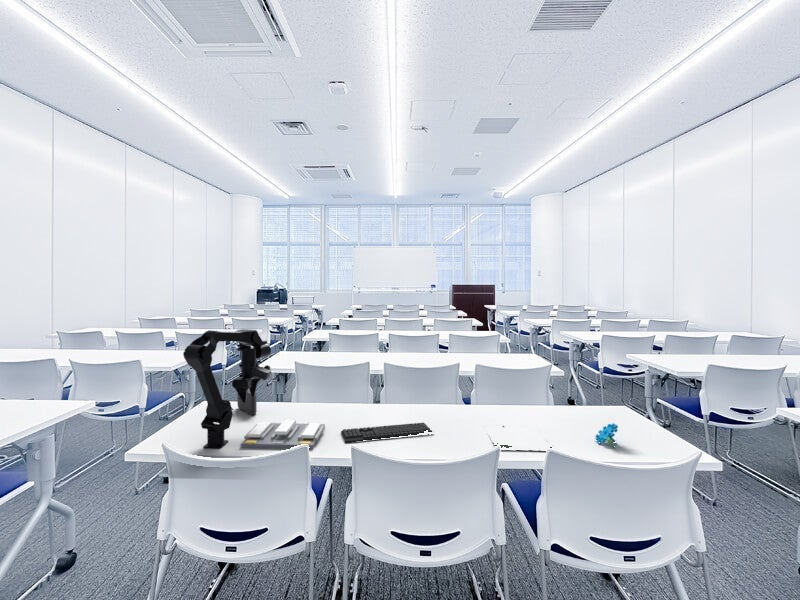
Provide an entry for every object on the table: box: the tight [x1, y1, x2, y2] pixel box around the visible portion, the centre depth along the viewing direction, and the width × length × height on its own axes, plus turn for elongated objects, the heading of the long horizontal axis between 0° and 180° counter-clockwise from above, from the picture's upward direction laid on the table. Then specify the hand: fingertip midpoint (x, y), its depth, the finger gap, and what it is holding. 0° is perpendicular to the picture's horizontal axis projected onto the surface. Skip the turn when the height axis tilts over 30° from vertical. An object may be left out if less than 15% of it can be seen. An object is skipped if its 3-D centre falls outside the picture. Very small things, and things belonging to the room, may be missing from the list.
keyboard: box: [340, 422, 433, 444], centre depth 166 cm, size 35×11×2 cm, turn 106°
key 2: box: [302, 422, 322, 438], centre depth 161 cm, size 13×4×1 cm, turn 179°
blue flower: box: [594, 422, 619, 447], centre depth 159 cm, size 11×6×10 cm
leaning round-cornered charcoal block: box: [237, 389, 258, 416], centre depth 192 cm, size 16×5×9 cm, turn 44°
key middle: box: [275, 419, 297, 435], centre depth 161 cm, size 13×4×1 cm, turn 179°
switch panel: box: [240, 422, 326, 450], centre depth 161 cm, size 22×27×2 cm
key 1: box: [247, 421, 272, 437], centre depth 161 cm, size 13×4×1 cm, turn 179°
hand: (248, 399), depth 168 cm, fingers open, 9 cm apart
